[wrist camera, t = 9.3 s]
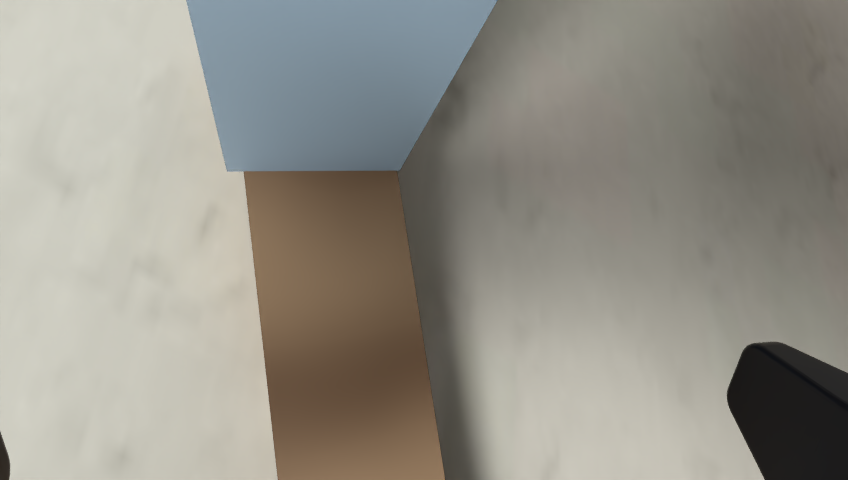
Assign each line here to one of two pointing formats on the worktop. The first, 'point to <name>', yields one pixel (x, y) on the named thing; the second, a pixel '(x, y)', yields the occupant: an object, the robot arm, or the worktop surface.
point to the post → (328, 77)
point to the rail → (341, 327)
